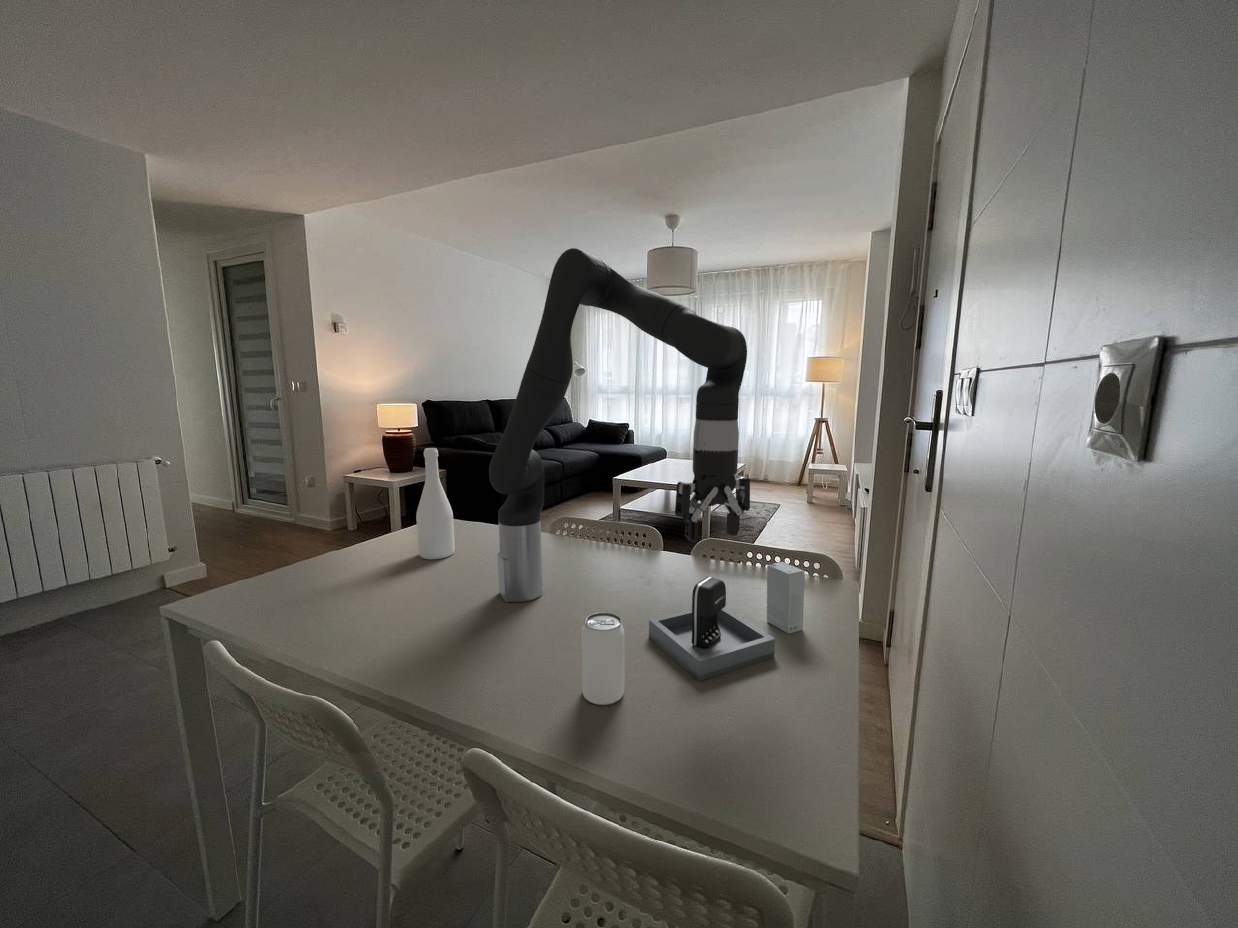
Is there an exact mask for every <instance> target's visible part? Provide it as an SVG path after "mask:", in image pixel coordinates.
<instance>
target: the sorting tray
mask: <svg viewBox="0 0 1238 928" xmlns="http://www.w3.org/2000/svg"><path fill="white" fill-rule="evenodd" d="M717 624H718V627H719V629H720V632H721V637H720V638H719V639H718V640H717V641H716V642H715V643H713V644H712V645H711V646H710V647H708V648H702V647H698V646H694V645H693V644H692V608H691V609H688V610H683V611H680V612H676V613H672V614H666V615H662V616H659V617H658V616H657V617H655V618H650V619H648V638H650V639H651V640H652V641H653V642H654V643H655V644H656V645H657V646H658V647H659V648H661V649H662V650H663V652H665V653H666V654H667V655H669V657H671V658H672V659H673V660H674V662H676V663H677V664H678V665H679V666H680V667H682V668H683V669H684V670H686V672H687V673H689V675H691V676H692V677H693V678H694V679H695V680H696V681H698V682H702V681H704V680H708V679H711V678H715V677H717V676H720V675H723V674H727V673H730V672H733V671H736V670H739V669H742V668H745V667H748V666H751V665H755V664H758V663H761V662H764V661H767V660H770V659H773V658H775V651H776V650H775V649H776V648H775V647H776V638H775V637H774V636H771V635H770V634H769V633H767V632H766V631H764V630H762V629H760V628H759V627H757V626H756V625H754V624H753V623H751V622H749V621H748V620H746V619H744V618H743V617H741V616H739V615H738V614H736V613H735V612H733V611H732V610H730V609H728V608H726V606H725V607H724V608H723V609H721V610H720V611H719V612H717Z"/></svg>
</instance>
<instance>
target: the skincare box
mask: <svg viewBox="0 0 1238 928" xmlns="http://www.w3.org/2000/svg"><path fill="white" fill-rule="evenodd" d="M766 570H767V571H766V574H767V575H766V578H767V579H766V622H767V623H769V624H770V625H772V626H774V627H776V628H777V629H779V630H781V631H783V632H784V633H786V634H792V633H793V634H794V633H797V632H800V631H802V630H803V629H804V605H805V604H804V601H805V599H804V598H805V570H803V569H801V568H799V567H796V566H794V565H791V564H788V563H787V562H784V561H779V562H775V563H770V564H767V566H766Z"/></svg>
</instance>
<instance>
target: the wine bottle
mask: <svg viewBox="0 0 1238 928" xmlns="http://www.w3.org/2000/svg"><path fill="white" fill-rule="evenodd" d="M438 457H439V451H438V449H437V448H436V447H428V448H424V451H423V458H424V465H425V468H424V469H425V471H424V472H425V480H424V485H423V489H422V493H421V496H420V500H419V502H418V503H419V504H418V505H417V509H416V513H415V514H416V515H415V518H416V519H415V520H416V530H417V531H416V532H417V546H418V547H417V549H418V555H419V557H420V558H421V559H425V560H441V559H445V558H448V557H450V556H451V555H453V554H454V552H455V549H456V548H455V547H456V545H455V531H454V529H455V528H454V513H453V509H452V505H451V504H450V502H449V499H448V497H447V495H446V492H445V490H444V487H443V486H442V485H443V484H442V482H441V479H440V475H439V471H440V470H439V461H438Z"/></svg>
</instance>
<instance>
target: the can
mask: <svg viewBox="0 0 1238 928" xmlns="http://www.w3.org/2000/svg"><path fill="white" fill-rule="evenodd" d="M583 622H584V624H583V626H582V628H581V683H582V684H581V686H582V689H581V690H582V695H583V697H584V699H585V700H586V701H587V702H589V703H590V704H592V705H596V706H610V705H613V704H615V703H617V702H619V701H620V700H621V699H622V698H623V696H624V694H625V629H624V626H623V624H622V619H621V617H620V616H618V615H617V614H615V613H612V612H595V613H592V614H589V615H588V616H586V617H585V618H584V620H583Z"/></svg>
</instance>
